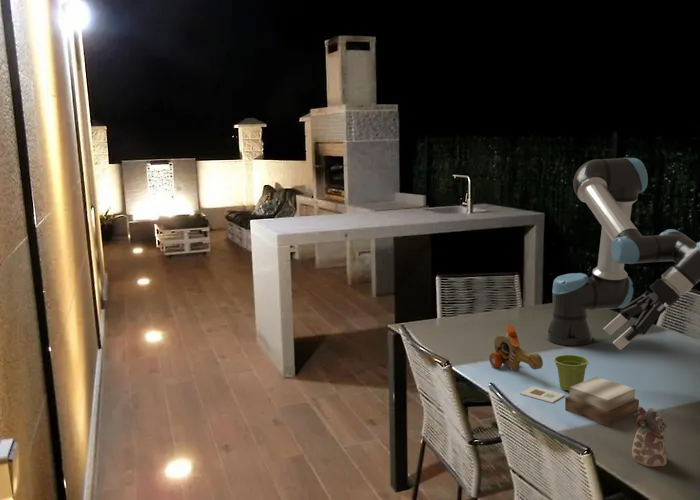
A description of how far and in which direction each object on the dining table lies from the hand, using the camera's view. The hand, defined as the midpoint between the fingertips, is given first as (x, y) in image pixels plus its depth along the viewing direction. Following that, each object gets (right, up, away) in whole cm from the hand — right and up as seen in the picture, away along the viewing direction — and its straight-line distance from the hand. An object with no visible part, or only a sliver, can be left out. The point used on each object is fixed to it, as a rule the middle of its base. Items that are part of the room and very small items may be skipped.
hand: (611, 339), depth 181 cm
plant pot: (-10, -15, +5) cm, 19 cm away
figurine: (-7, -22, -37) cm, 44 cm away
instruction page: (-19, -16, +1) cm, 25 cm away
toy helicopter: (-22, -13, +21) cm, 33 cm away
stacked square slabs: (-7, -17, -11) cm, 22 cm away
